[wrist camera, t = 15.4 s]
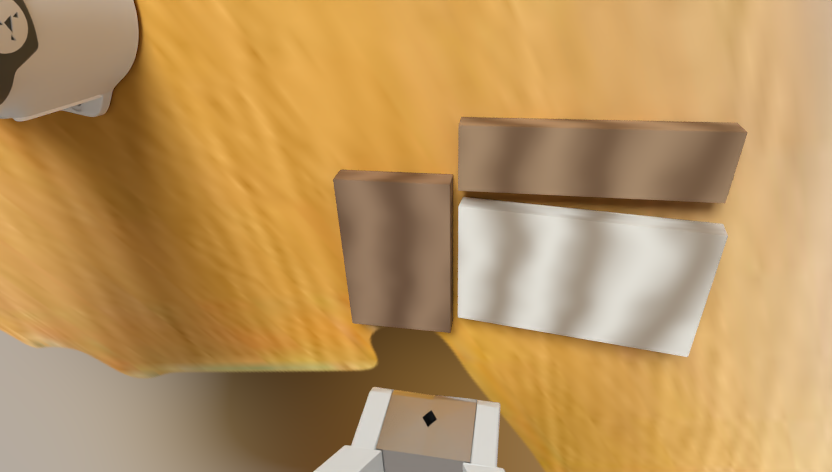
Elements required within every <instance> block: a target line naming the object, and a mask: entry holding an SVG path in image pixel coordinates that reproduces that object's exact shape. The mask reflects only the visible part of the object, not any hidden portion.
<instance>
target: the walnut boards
mask: <svg viewBox="0 0 832 472" xmlns="http://www.w3.org/2000/svg"><path fill="white" fill-rule="evenodd" d="M746 135H747V132H746V131H745V130H744V129H743V128H742V127H741V126H740V125H739V124H738V123H713V122H666V121H619V120H571V119H524V118H476V117H461V120H460V123H459V161H458V191H478V192H499V193H520V194H541V195H562V196H583V197H604V198H626V199H647V200H668V201H689V202H710V203H725V202H726V199H727V196H728V192H729V189H730V186H731V183H732V180H733V177H734V173H735V170H736V167H737V164H738V161H739V157H740V154H741V151H742V148H743V145H744V142H745V138H746ZM333 182H334V189H335V196H336V204H337V211H338V218H339V226H340V233H341V241H342V248H343V255H344V263H345V270H346V277H347V285H348V292H349V300H350V307H351V314H352V322H353V323H356V324H367V325H377V326H387V327H397V328H408V329H417V330H427V331H437V332H448V333H451V327H452V322H453V175H451V174H427V173H403V172H380V171H356V170H340V171H339V172H338V174H337V175H336V176H335V178H334V179H333Z"/></svg>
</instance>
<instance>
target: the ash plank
mask: <svg viewBox="0 0 832 472" xmlns="http://www.w3.org/2000/svg"><path fill="white" fill-rule="evenodd" d="M727 237H728V235H727V233H726V230H725V228H724V225H723V224H717V223H708V222H698V221H689V220H679V219H670V218H660V217H651V216H641V215H631V214H622V213H612V212H603V211H593V210H584V209H574V208H565V207H555V206H545V205H536V204H526V203H517V202H507V201H498V200H488V199H478V198H469V197H463V199H462V200H461V202H460V204H459V206H458V317H459V318H465V319H471V320H477V321H483V322H488V323H494V324H500V325H506V326H511V327H517V328H523V329H529V330H535V331H540V332H546V333H552V334H558V335H563V336H569V337H575V338H581V339H586V340H592V341H598V342H604V343H610V344H615V345H621V346H627V347H633V348H638V349H644V350H650V351H656V352H662V353H667V354H673V355H679V356H685V357H688V355H689V352H690V349H691V346H692V343H693V340H694V337H695V334H696V331H697V328H698V325H699V322H700V319H701V316H702V313H703V310H704V307H705V304H706V301H707V298H708V295H709V292H710V289H711V285H712V282H713V279H714V276H715V273H716V270H717V267H718V264H719V261H720V258H721V255H722V252H723V249H724V246H725V243H726V240H727Z"/></svg>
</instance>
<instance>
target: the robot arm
mask: <svg viewBox="0 0 832 472" xmlns="http://www.w3.org/2000/svg"><path fill="white" fill-rule="evenodd" d="M138 38H139V29H138V19H137V13H136V8H135V5H134V1H133V0H0V118H2V119H7V118H13V119H14V120H15V121H26V120H30V119H33V118H37V117H40V116H43V115H46V114H50V113H53V112H56V111H59V110H62V111H67V112H71V113H75V114H80V115H84V116H88V117H96V116H100V115H103V114H105V113H106V112H107V110H108V108H109V105H110V101H111V96H112V91H113V89H114V87H115V86H116V85H117V84H118V83H119V82H120V81H121V80H122V79H123V78H124V77H125V75H126V74H127V73H128V71H129V70H130V68H131V66H132V64H133V62H134V60H135V57H136V53H137V48H138ZM499 419H500V403H497V402H489V401H481V400H478V403H477V400H476V399H466V398H457V397H448V396H440V395H439V396H438V395H435V396H433V395H426V394H420V393H413V392H407V391H400V390H392V389H385V388H378V387H373V388H372V390H371V391H370V392H369V395H368V398H367V401H366V404H365V407H364V410H363V413H362V416H361V418H360V421H359V425H358V427H357V430H356V433H355V436H354V439H353V442H352V445H351V446H348V445H345V446H343V447H342V448H341V449H340V450H339V451H337V452H336V453H335V454H334V455H333V456H332V457H330V458H329V459H328V460H327V461H326V462H325V463H323V464H322V465H321V466H320V467H318V468H317V469H316V470H315V471H314V472H505V470H504V469H503V468H498V467H497V455H498V437H499Z"/></svg>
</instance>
